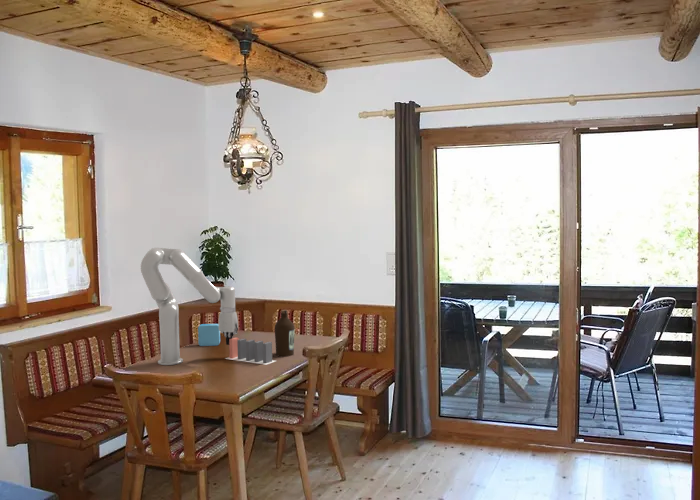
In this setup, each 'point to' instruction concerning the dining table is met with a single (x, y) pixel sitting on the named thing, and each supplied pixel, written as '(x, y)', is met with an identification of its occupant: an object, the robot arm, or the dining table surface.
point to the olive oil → (284, 336)
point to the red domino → (233, 347)
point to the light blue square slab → (208, 335)
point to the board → (250, 360)
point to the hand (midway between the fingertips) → (229, 344)
